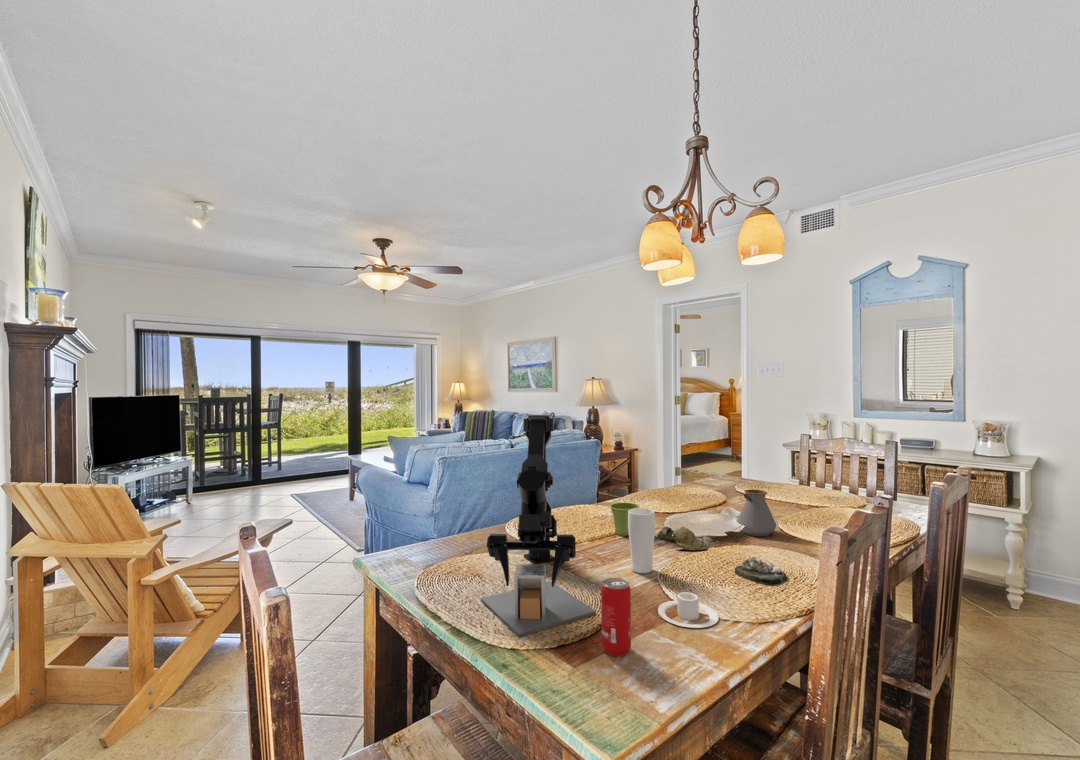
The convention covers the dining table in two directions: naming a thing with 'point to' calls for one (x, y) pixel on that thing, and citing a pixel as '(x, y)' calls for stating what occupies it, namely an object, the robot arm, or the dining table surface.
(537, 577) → the steel cover
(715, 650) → the dining table surface
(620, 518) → the plant pot
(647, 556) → the drinking glass
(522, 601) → the orange block
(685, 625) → the candle holder
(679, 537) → the olive green lumpy piece
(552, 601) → the slate board
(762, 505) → the coffee pot
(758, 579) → the stone carving
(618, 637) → the beverage can
